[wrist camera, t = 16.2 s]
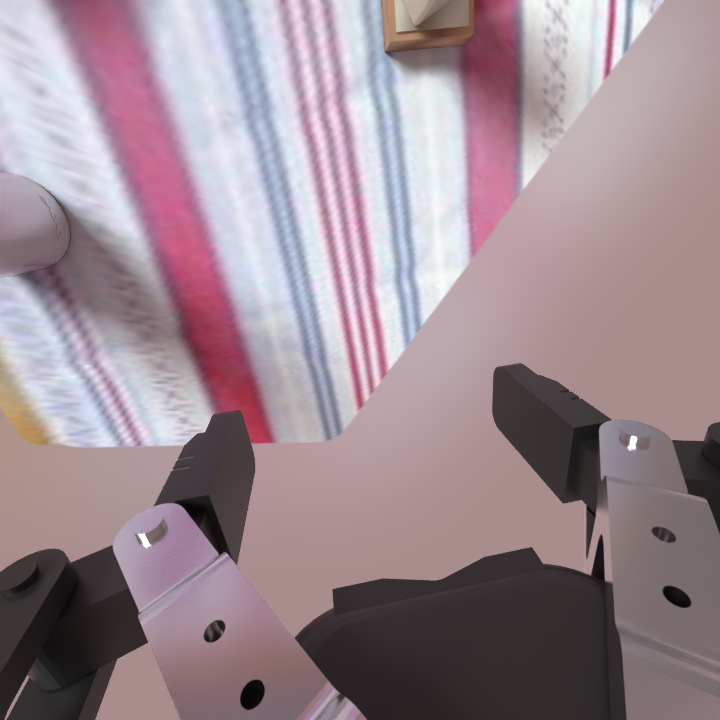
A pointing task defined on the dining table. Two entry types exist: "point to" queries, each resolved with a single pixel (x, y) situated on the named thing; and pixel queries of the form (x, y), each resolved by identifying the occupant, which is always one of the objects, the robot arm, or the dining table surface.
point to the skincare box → (422, 9)
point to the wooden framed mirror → (427, 26)
